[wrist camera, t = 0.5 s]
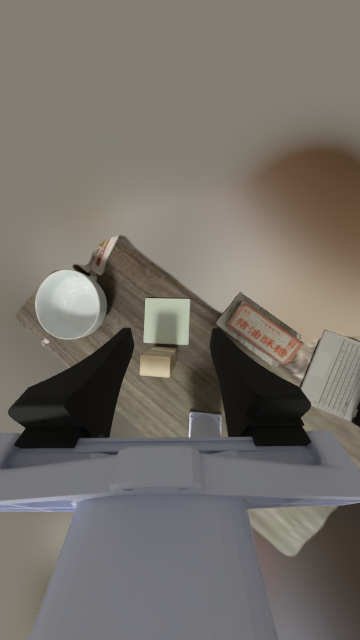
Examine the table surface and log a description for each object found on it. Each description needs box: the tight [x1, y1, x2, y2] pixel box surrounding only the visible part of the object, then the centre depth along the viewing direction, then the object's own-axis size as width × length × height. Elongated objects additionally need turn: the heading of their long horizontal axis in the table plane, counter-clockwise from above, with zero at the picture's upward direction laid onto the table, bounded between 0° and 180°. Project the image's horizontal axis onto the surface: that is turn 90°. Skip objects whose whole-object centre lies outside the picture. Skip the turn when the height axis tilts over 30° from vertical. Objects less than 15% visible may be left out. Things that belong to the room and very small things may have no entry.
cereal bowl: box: [35, 270, 107, 339], centre depth 37 cm, size 17×17×7 cm
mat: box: [144, 298, 190, 345], centre depth 38 cm, size 12×12×1 cm
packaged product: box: [216, 292, 305, 368], centre depth 34 cm, size 18×5×10 cm
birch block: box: [140, 347, 177, 378], centre depth 33 cm, size 4×6×10 cm, turn 88°
